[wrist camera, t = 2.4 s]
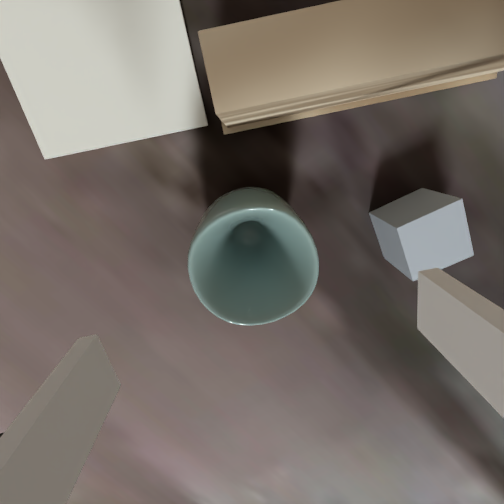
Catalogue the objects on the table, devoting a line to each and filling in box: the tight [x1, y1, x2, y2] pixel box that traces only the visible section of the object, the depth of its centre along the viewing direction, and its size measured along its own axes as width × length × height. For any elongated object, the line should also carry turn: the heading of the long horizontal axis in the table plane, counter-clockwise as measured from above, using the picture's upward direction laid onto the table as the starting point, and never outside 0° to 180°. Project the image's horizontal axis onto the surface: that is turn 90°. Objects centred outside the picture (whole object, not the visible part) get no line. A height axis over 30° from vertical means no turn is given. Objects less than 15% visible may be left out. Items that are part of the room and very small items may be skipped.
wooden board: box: [198, 0, 504, 135], centre depth 15 cm, size 3×21×16 cm, turn 101°
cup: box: [188, 187, 319, 326], centre depth 22 cm, size 8×8×10 cm
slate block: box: [369, 188, 474, 281], centre depth 25 cm, size 5×5×5 cm
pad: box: [0, 0, 208, 159], centre depth 21 cm, size 13×13×1 cm
